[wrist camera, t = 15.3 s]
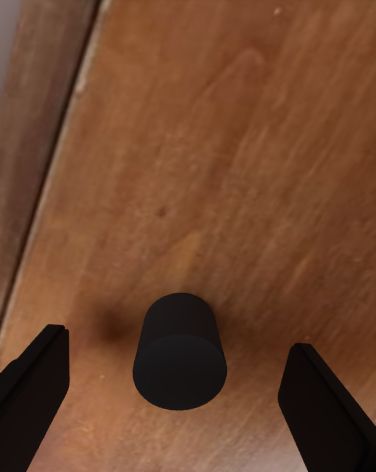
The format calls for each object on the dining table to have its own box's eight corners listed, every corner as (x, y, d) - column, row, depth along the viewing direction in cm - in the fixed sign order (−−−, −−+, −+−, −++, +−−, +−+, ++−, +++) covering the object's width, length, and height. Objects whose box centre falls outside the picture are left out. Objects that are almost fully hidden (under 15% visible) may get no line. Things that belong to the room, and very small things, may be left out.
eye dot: (146, 289, 11) (135, 330, 8) (220, 295, 11) (234, 338, 8) (141, 351, 12) (129, 408, 9) (210, 356, 12) (219, 413, 9)
